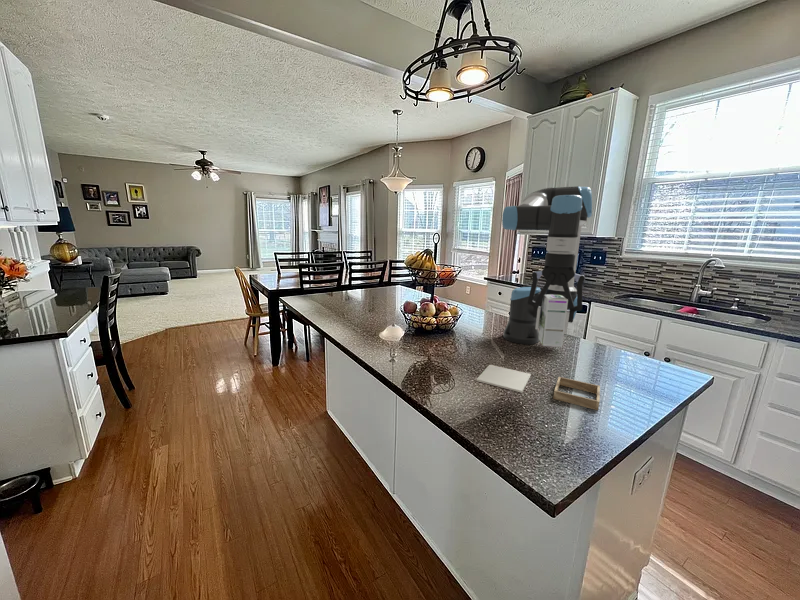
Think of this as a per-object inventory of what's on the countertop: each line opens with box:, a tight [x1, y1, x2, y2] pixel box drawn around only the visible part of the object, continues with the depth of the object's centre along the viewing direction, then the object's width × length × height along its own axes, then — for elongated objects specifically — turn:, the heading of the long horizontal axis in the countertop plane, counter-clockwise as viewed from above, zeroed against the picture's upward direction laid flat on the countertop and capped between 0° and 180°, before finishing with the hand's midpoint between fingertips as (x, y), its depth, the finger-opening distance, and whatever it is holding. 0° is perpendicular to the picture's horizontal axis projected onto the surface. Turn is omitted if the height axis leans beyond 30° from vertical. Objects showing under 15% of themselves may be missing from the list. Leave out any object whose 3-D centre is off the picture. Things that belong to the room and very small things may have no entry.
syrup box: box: [538, 294, 568, 348], centre depth 96 cm, size 6×6×14 cm
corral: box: [552, 376, 601, 411], centre depth 96 cm, size 11×11×2 cm
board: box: [476, 364, 532, 394], centre depth 107 cm, size 14×14×1 cm
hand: (551, 330), depth 97 cm, fingers closed on syrup box, 7 cm apart
